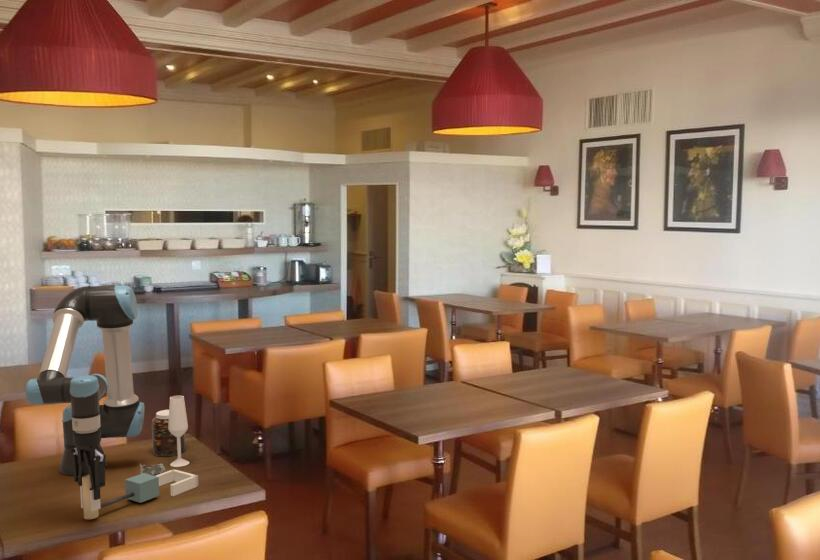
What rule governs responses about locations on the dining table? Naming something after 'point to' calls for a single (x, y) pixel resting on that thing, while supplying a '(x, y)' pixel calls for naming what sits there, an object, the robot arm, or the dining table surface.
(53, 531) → the dining table surface
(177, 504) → the dining table surface
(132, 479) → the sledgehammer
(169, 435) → the jar
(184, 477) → the white u-shaped bracket
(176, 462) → the champagne flute
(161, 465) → the egg carton
